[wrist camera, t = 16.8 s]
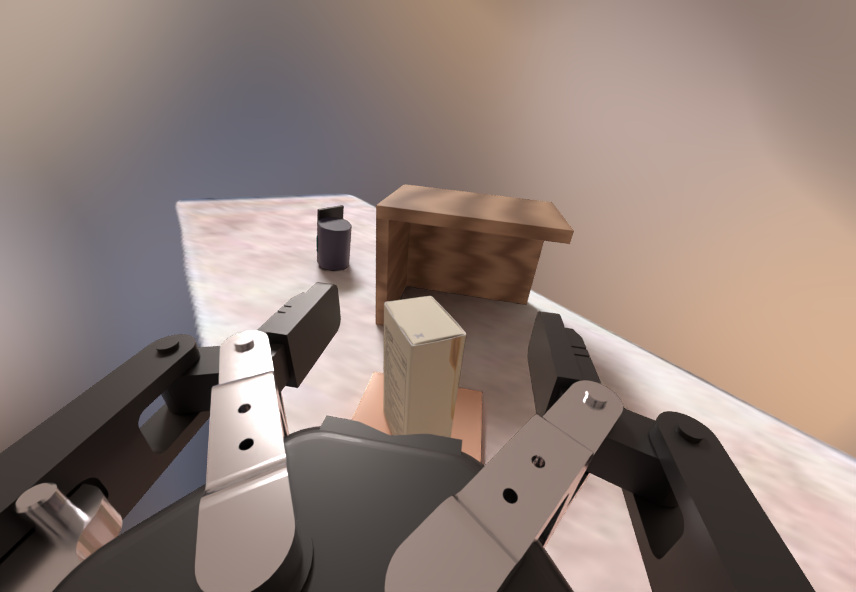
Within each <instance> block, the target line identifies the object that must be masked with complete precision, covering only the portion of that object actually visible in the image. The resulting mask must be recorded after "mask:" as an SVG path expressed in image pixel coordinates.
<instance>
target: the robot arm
mask: <svg viewBox="0 0 856 592" xmlns="http://www.w3.org/2000/svg"><path fill="white" fill-rule="evenodd" d="M340 320H341V316H340V306H339V295H338V288H337V286H336V285H334V284H327V283H319V282H317V283H315V284H314V285H313V286H312V287H311V288H310V289H309V290H308V291H307V292H306V293H304V292H303V293H301V294H299V295H297V296H295V297H293V298H291V299H290V300H289V301H288V302H287V303H286V304H285V305H284V307H281V308H280V309H279V310H278V312H276V313H275V314H274V315H273V316H272V317H271V318H270V319H268V320H267V321H266V322H265V323H264V324H263V325H262V326H261V327H260V328H259V329H258V330H257V331H245V332H240V333H237V334H235V335H233V336H231V337H229V338H228V339H226V340H225V341H224V342H223V343H222V344H221V346H213V347H198V346H197V343H196V341H195V338H193V337H192V336H190V335H185V334H184V335H183V334H180V335H172V336H168V337H164V338H161V339H159V340H157V341H155V342H153V343H151V344H150V345H148V346H147V347H145V348H144V349H143V350H141V351H140V352H139V353H137V354H136V355H134V356H133V357H132V358H130V359H129V360H128V361H126V362H125V363H124V364H122V365H121V366H119V367H118V368H117V369H115V370H114V371H112V372H111V373H110V374H108V375H107V376H106V377H104V378H103V379H102V380H100V381H99V382H97V383H96V384H95V385H93V386H92V387H91V388H89V389H88V390H86V391H85V392H84V393H83V394H81V395H80V396H78V397H77V398H76V399H74V400H73V401H71V402H70V403H69V404H67V405H66V406H65V407H63V408H62V409H60V410H59V411H58V412H57V413H55V414H54V415H52V416H51V417H50V418H48V419H47V420H45V421H44V422H43V423H41V424H40V425H39V426H37V427H36V428H34V429H33V430H32V431H30V432H29V433H28V434H26V435H25V436H23V437H22V438H21V439H19V440H18V441H17V442H15V443H14V444H13V445H11V446H10V447H8V448H7V449H6V450H5V451H3V452H2V453H0V592H574V591H573V590H572V588H571V587H570V585H569V584H568V582H567V581H566V579H565V578H564V576H563V575H562V574H561V572H560V571H559V569H558V568H557V566H556V565H555V563H554V562H553V560H552V559H551V557H550V556H549V554H548V553H547V551H546V550H545V546H546V544H547V543H548V541H549V540H550V538H551V536H552V535H553V533H554V531H555V529H556V528H557V526H558V524H559V522H560V521H561V519H562V517H563V516H564V514H565V512H566V511H567V509H568V508H569V506H570V505H571V503H572V501H573V500H574V498H575V497H576V495H577V494H578V492H579V490H580V489H581V487H582V486H583V484H584V483H585V481H586V480H587V478H588V476H589V475H590V473H591V474H593V475H595V476H597V477H600V478H602V479H604V480H606V481H608V482H610V483H612V484H614V485H617V486H619V487H621V488H622V491H623V494H624V498H625V501H626V505H627V508H628V511H629V515H630V518H631V521H632V525H633V528H634V532H635V535H636V538H637V542H638V545H639V549H640V552H641V555H642V559H643V562H644V565H645V569H646V572H647V576H648V579H649V582H650V586H651V589H652V592H815V590H814V589H813V587H812V585H811V584H810V582H809V581H808V579H807V578H806V576H805V574H804V573H803V571H802V570H801V568H800V567H799V565H798V563H797V562H796V560H795V559H794V557H793V556H792V554H791V553H790V551H789V549H788V548H787V546H786V545H785V543H784V542H783V540H782V538H781V537H780V535H779V534H778V532H777V531H776V529H775V527H774V526H773V524H772V523H771V521H770V520H769V518H768V516H767V515H766V513H765V512H764V510H763V509H762V507H761V506H760V504H759V502H758V501H757V499H756V498H755V496H754V495H753V493H752V491H751V490H750V488H749V487H748V485H747V484H746V482H745V480H744V479H743V477H742V476H741V474H740V473H739V471H738V470H737V468H736V466H735V465H734V463H733V462H732V460H731V459H730V457H729V455H728V454H727V452H726V451H725V449H724V448H723V446H722V444H721V443H720V441H719V440H718V438H717V437H716V436H715V434H714V433H713V432H712V431H711V430H710V429H708V428H707V427H706V426H705V425H703V424H702V423H700V422H699V421H697V420H696V419H694V418H692V417H690V416H687V415H685V414H682V413H678V412H672V411H667V412H663V413H661V414H660V415H659V416H658V417H657V419H656V421H655V420H652V419H650V418H647V417H644V416H642V415H639V414H637V413H634V412H632V411H629V410H627V409H625V408H623V404H622V402H621V400H620V398H619V397H618V396H617V395H616V394H615V393H614V392H613V391H612V390H610V389H609V388H607V387H606V386H604V385H602V384H601V382H600V380H599V377H598V375H597V372H596V370H595V368H594V365H593V363H592V360H591V358H589V353H588V351H587V350H586V346H585V344H584V341H583V339H582V337H581V336H580V335H579V334H577V333H576V332H575V331H574V330H573V329H570V328H565V327H564V324H563V321H562V319H561V316H560V314H556V313H548V312H540V311H539V312H538V313H537V316H536V319H535V323H534V327H533V331H532V335H531V338H530V342H529V347H528V364H529V370H530V376H531V383H532V389H533V395H534V401H535V408H536V415H534V416H533V417H532V418H531V419H530V420H529V421H528V422H527V423H526V424H525V425H524V426H523V427H522V428H521V429H520V430H519V432H518V433H517V434H516V435H515V436H514V437H513V438H512V439H511V440H510V441H509V442H508V443H507V444H506V445H505V446H504V447H503V448H502V449H501V450H500V451H499V452H498V453H497V454H496V455H495V456H494V457H493V458H492V459H491V460H490V461H489V462H488V463H487V464H486V465H485V466H484V465H483V464H482V463H481V462H479V461H478V460H477V459H475V458H474V457H472V456H470V455H468V454H466V453H464V452H462V451H461V450H462V440H461V439H455V438H449V437H444V436H438V435H433V434H411V435H388V434H386V433H384V432H381V431H379V430H377V429H375V428H372V427H370V426H368V425H366V424H364V423H361V422H359V421H354V420H348V419H343V418H337V417H332V416H326V418H325V420H324V421H323V423H322V425H321V426H319V427H312V428H307V429H303V430H300V431H297V432H294V433H292V434H289V431H288V425H287V420H286V414H285V409H284V403H283V398H282V393H281V391H282V389H283V388H284V387H285V386H289V387H295V388H298V387H299V386H300V384H301V383H302V381H303V380H304V378H305V377H306V376H307V374H308V373H309V371H310V370H311V368H312V367H313V365H314V364H315V363H316V361H317V360H318V358H319V357H320V355H321V354H322V353H323V351H324V350H325V348H326V347H327V345H328V344H329V343H330V341H331V340H332V338H333V337H334V335H335V334H336V333H337V331H338V329H339V326H340ZM160 395H162V397H163V399H164V401H165V405H163V406H162V407H161V408H160V409H159V410H158V411H157V412H156V413H155V414H154V415H153V416H152V417H151V418H150V419H149V420H148V421H147V422H146V423H145V424H143V426H142V427H140V428H139V426H138V421H139V417H140V415H141V414H142V412H143V411H144V409H146V407H148V406H149V405H150V404H151V403H152V402H153V401H154V400H155V399H156V398H157V397H158V396H160ZM209 417H210V427H209V444H208V459H207V476H206V484H205V485H203V486H201V487H199V488H198V489H196V490H194V491H193V492H191V493H189V494H188V495H186V496H184V497H183V498H181V499H179V500H178V501H176V502H174V503H173V504H171V505H169V506H168V507H166V508H164V509H163V510H161V511H159V512H158V513H156V514H154V515H153V516H151V517H149V518H147V519H146V520H144V521H142V522H141V523H139V524H137V525H136V526H134V527H133V528H131V529H129V530H128V531H126V532H124V533H123V534H121V535H119V533H120V530H121V527H122V520H123V519H124V518H125V517H126V515H127V514H128V513H129V512H130V511H131V510H132V509H133V507H134V506H135V505H136V504H137V503H138V501H139V500H140V499H141V498H142V497H143V495H144V494H145V493H146V492H147V491H148V490H149V488H150V487H151V486H152V485H153V484H154V482H155V481H156V480H157V479H158V478H159V476H160V475H161V474H162V473H163V472H164V471H165V469H166V468H167V467H168V466H169V465H170V463H171V462H172V461H173V460H174V459H175V457H176V456H177V455H178V454H179V453H180V452H181V450H182V449H183V448H184V447H185V446H186V444H187V443H188V442H189V441H190V440H191V439H192V437H193V436H194V435H195V434H196V433H197V431H198V430H199V429H200V428H201V427H202V425H203V424H204V423H205V422H206V421H207V420H208V418H209ZM118 535H119V536H118Z"/></svg>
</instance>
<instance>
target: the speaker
mask: <svg viewBox="0 0 856 592" xmlns="http://www.w3.org/2000/svg"><path fill="white" fill-rule="evenodd" d="M343 209H344V206H343V205H340V206H334V207H328V208H322V209H318V221H317V262H318V264H319V265H320V267H322V268H324V269H328V270H333V271H336V270H343V269H346V268H347V266H348V265H349V257H350V242H351V227H352V225H351V224H350V223H349V222H348V221H347V220H345V219H343Z"/></svg>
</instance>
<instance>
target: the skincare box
mask: <svg viewBox="0 0 856 592" xmlns="http://www.w3.org/2000/svg"><path fill="white" fill-rule="evenodd" d="M465 339H466V332H465V331H464V330H463V329H462V328H461V327H460V325H459V324H458V323H457V322H456V321H455V320H454V319H453V317H452V316H451V315H450V314H449V313H448V312H447V311H446V310H445V309H444V308H443V307H442V306H441V305H440V304H439V303H438V302H437V301H436V300H435V299H434V298H433V297H432V296H425V297H418V298H410V299H403V300H395V301H387V302H385V303H384V396H383V411H384V414H385V417H386V420H387V423H388V425H389V428H390V430H391V433H392V435H411V434H433V435H438V436H444V437H449V438H451V432H452V425H453V418H454V411H455V405H456V399H457V391H458V385H459V379H460V372H461V365H462V358H463V352H464V345H465Z"/></svg>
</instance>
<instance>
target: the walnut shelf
mask: <svg viewBox="0 0 856 592" xmlns="http://www.w3.org/2000/svg"><path fill="white" fill-rule="evenodd" d="M573 232H574V230H573V229H572V228H571V226H570V225H569V224H568V223H567V221H566V220H565V219H564V217H563V216H562V215H561V213H560V212H559V211H558V209H557V208H556V207H555V205H554V204H553V203H552V202H545V201H537V200H529V199H520V198H512V197H504V196H496V195H487V194H479V193H471V192H463V191H454V190H446V189H438V188H430V187H421V186H413V185H403V186H402V187H400V188H399V189H398V190H396V191H395V192H394V193H392V194H391V195H390V196H388V197H387V198H385V199H384V200H383V201H381V202H380V203H379V204H377V205H376V324H379V325H384V303H385V302H387V301H395V300H399V299H400V297H401V295H402V293H403V291H404V289H405V287H406V286H410V287H416V288H423V289H429V290H436V291H442V292H449V293H455V294H461V295H468V296H474V297H481V298H487V299H494V300H500V301H507V302H513V303H519V304H526V305H527V301H528V297H529V294H530V290H531V286H532V283H533V279H534V275H535V272H536V268H537V264H538V261H539V257H540V253H541V250H542V246H543V242H544V241H551V242H559V243H566V244H570V241H571V238H572V235H573Z"/></svg>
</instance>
